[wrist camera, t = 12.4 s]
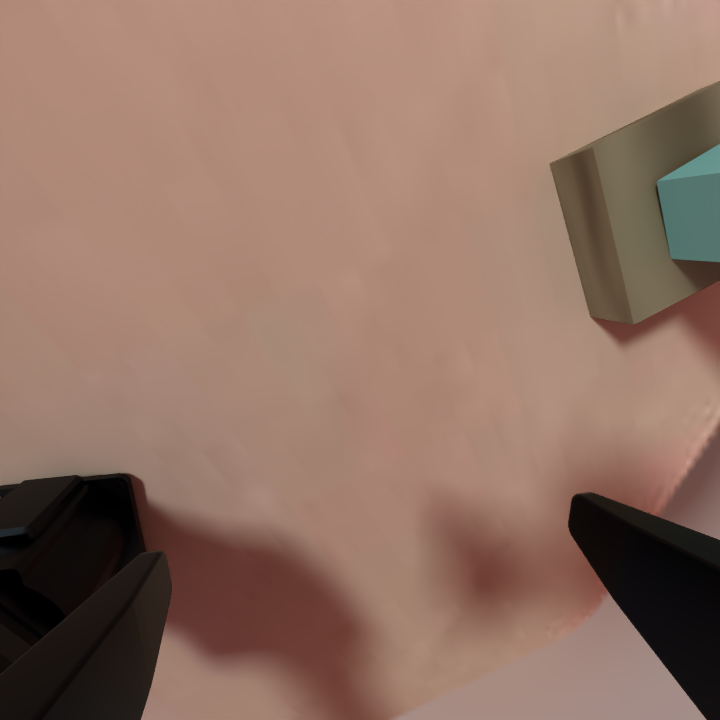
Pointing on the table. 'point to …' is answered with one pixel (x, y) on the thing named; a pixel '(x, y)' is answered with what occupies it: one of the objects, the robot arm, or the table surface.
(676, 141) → the base brick
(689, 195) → the pillar brick
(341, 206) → the table surface
